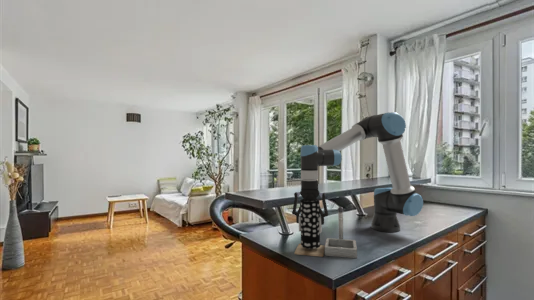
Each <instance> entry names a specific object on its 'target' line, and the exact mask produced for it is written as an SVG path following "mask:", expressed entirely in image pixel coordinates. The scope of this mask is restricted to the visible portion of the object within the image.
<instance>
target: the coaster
mask: <svg viewBox="0 0 534 300" xmlns="http://www.w3.org/2000/svg"><path fill="white" fill-rule="evenodd" d="M294 255H298V256H299V255H301V256H309V257H310V256H311V257H321V258H323V257H324V256H325V245H324V244H323V245H322V244H320V247H319V248H315V249H308V248H304V247H302V246H301V243H298V245H297V247H296V248H295V251H294Z"/></svg>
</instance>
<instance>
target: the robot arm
mask: <svg viewBox="0 0 534 300" xmlns="http://www.w3.org/2000/svg"><path fill="white" fill-rule="evenodd" d="M406 126H407V124H406V121H405V118H404V117H403V115H401V114H400V113H397V112H396V111H395V112H384V113H380V114H374V115H370V116H367V117H366V118H363V119H362V120H360V121H358V122H356V123H355V124H353V125H352V126H351V128H350V129H348V130H346V131H344V132H342V133H341V134H338V135H336V136H334V137H333V138H331V139H329V140H328V141H325V142H324V143H322V144H320V145H316V144H315V145H314V144H306V145H305V144H304V145H302V146H301V147H300V154H299V155H300V180H301V181H300V192H299V191H295V192H294V193H293V195H294V200H293V206H292V210H291V211H292V213H291V214H292V215H294V216H295V217H296V219H295V220H296V224H298V232H300V233H301V205H299V207H298V200H299V197H300V196H301V197H302V199H303V200H302V201H305V200H306V201H317V200H318V197H319V196H320V197H319V198H321V202H322V206H323V209H322V207H321V206H320V204H319V213H320V217H319V233H320V234H321V233H322V232H323V229H322V228H323V227H322V226H323V225H325V217H328V216H329V211H328V205H327V201H326V192H320V191H319V180H318V179H319V167H334V166H335V167H336V166H339V165H340V164H341V162H342V160H343V158H342V157H343V156H342V152H341V151H343V150H344V149H346V148H348V147H350V146H351V145H353V144H355V143H357V142H362V141H365V140H366V139H369V138H377V140H378V143H380V144H381V146H382V149H383V153H384V157H385V162H386V166H387V171H388V173H389V178H390V181H391V186H392V187H378V188H377V187H376V188H375V189H374V191H373V209H374V211H373V212H374V213H373V216H372V221H371V222H370V224H371V225H370V227H371V229H372V230H374V231H377V232H385V233H396V232H397V233H398V232H400V231H401V225H400V221H399V219H398V215H397V214H399V215H403V216H406V217H408V216H410V217H415V216H417V215H419V214H420V213H421V211H422V209H423V206H424V200H423V197H422V195H420V194H419V193H417V192H416V189H415V187H414V186H413V185H412V184H411V181H410V180H411V179H410V176H409V172H408V168H407V163H406V159H405V156H404V151H403V146H402V142H401V140H402V139H403V137H404V136H403V134H404V133H405V131H406V128H407V127H406ZM297 207H298V209H297Z"/></svg>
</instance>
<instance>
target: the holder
mask: <svg viewBox="0 0 534 300" xmlns="http://www.w3.org/2000/svg"><path fill="white" fill-rule="evenodd" d="M344 211H345V210H344V208H343V206H338V208H337V212H338V238H329V237H327V238H326V240H325V250H324V256H325V257H337V258H350V259H358V248H357V247H358V246H357V241H356V239H346V238H345V239H344Z"/></svg>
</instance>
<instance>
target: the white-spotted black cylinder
mask: <svg viewBox="0 0 534 300" xmlns="http://www.w3.org/2000/svg"><path fill="white" fill-rule="evenodd" d="M302 200H303V198H302V199H300V201H299V203H300V205H301V212H300V215H301V232H300V244H301V246H302V247H304V248H308V249H315V248H319V247H320V245H321V233H319V217H320V213H319V205H320V199H317V201H306V200H305V201H302ZM300 205H299V206H300Z"/></svg>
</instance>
